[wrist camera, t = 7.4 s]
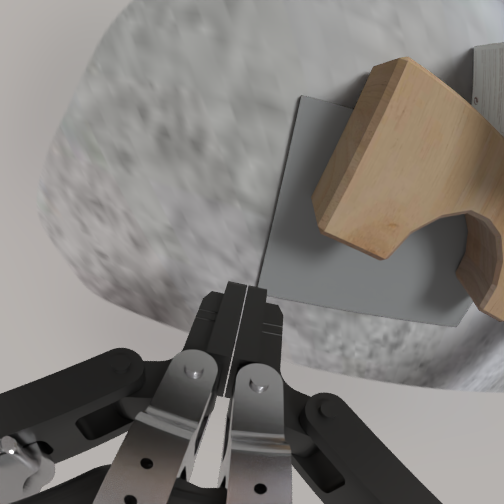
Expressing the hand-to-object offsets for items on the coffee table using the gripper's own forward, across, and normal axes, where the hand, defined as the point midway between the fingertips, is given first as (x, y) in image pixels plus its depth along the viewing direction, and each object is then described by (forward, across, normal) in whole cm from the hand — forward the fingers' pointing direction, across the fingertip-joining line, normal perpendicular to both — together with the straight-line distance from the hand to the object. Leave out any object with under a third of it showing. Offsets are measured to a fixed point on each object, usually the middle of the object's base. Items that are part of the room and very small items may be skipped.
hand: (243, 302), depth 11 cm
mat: (+11, -12, 0) cm, 16 cm away
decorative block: (+8, -4, -6) cm, 11 cm away
